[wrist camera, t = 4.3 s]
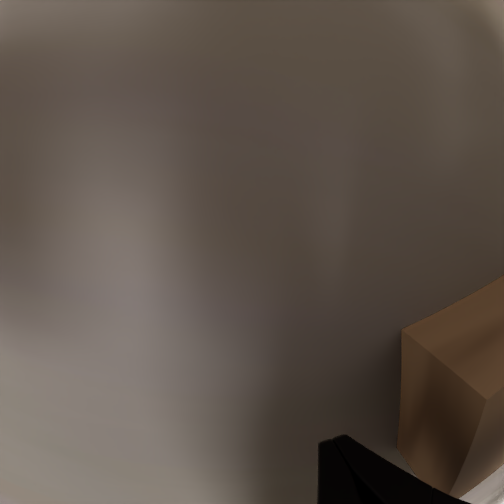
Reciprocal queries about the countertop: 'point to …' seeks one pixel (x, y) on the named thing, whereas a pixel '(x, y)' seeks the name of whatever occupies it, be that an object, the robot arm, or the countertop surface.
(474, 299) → the walnut block
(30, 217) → the countertop surface
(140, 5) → the countertop surface
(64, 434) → the countertop surface
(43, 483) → the countertop surface
